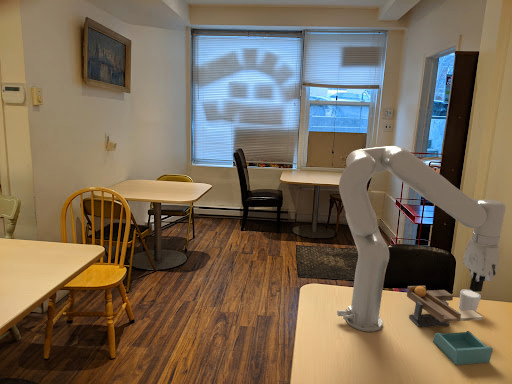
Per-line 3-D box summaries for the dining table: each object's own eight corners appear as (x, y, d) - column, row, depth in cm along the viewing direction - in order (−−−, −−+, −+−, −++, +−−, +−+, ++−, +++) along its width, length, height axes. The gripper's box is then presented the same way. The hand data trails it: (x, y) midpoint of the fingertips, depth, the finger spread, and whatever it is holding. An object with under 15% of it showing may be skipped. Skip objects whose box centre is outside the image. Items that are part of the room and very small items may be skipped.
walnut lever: (440, 322, 121) (442, 310, 120) (406, 296, 140) (407, 286, 140) (483, 319, 123) (484, 308, 123) (443, 294, 143) (444, 284, 142)
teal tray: (455, 364, 111) (458, 350, 110) (433, 341, 121) (435, 328, 120) (489, 362, 113) (492, 348, 111) (464, 339, 123) (467, 326, 122)
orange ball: (418, 298, 136) (418, 287, 135) (412, 295, 139) (412, 284, 139) (428, 298, 136) (428, 287, 136) (421, 294, 140) (422, 284, 140)
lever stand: (418, 327, 129) (421, 307, 127) (408, 317, 134) (412, 298, 133) (449, 325, 131) (453, 306, 129) (438, 315, 136) (442, 297, 135)
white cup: (480, 316, 138) (484, 299, 136) (460, 313, 139) (463, 296, 137) (473, 306, 144) (477, 290, 142) (454, 303, 145) (458, 287, 144)
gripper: (458, 230, 125) (450, 280, 129) (492, 247, 111) (482, 303, 115) (478, 230, 126) (469, 279, 130) (514, 247, 112) (503, 301, 116)
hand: (475, 290), depth 123 cm, fingers closed
